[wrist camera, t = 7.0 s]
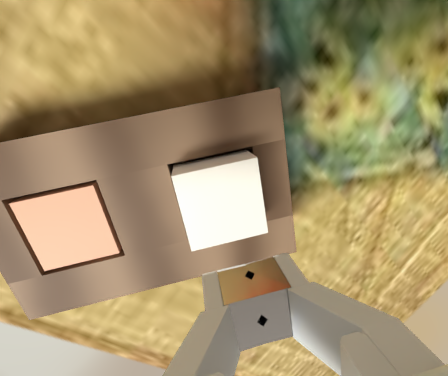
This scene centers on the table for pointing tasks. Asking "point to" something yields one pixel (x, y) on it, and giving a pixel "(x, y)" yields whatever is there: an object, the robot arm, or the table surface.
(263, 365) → the table surface
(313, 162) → the table surface
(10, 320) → the table surface
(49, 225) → the key terracotta
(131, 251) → the key console
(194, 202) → the key ivory
